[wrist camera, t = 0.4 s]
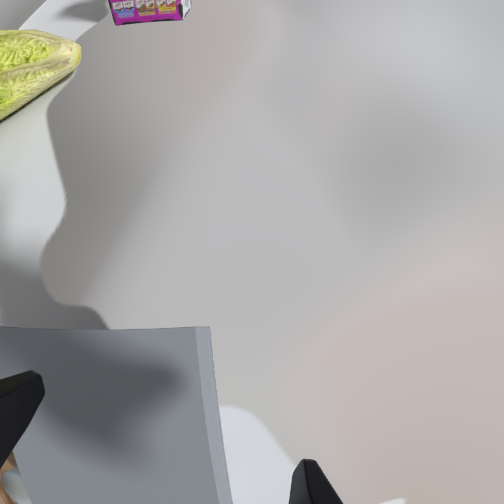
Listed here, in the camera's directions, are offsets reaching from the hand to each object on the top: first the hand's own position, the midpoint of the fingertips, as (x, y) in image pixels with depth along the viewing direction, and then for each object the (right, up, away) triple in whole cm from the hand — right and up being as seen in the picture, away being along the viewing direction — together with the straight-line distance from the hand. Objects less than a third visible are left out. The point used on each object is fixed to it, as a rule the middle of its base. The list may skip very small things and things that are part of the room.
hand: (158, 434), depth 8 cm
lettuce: (-30, +27, +20) cm, 45 cm away
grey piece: (-6, -9, +12) cm, 17 cm away
